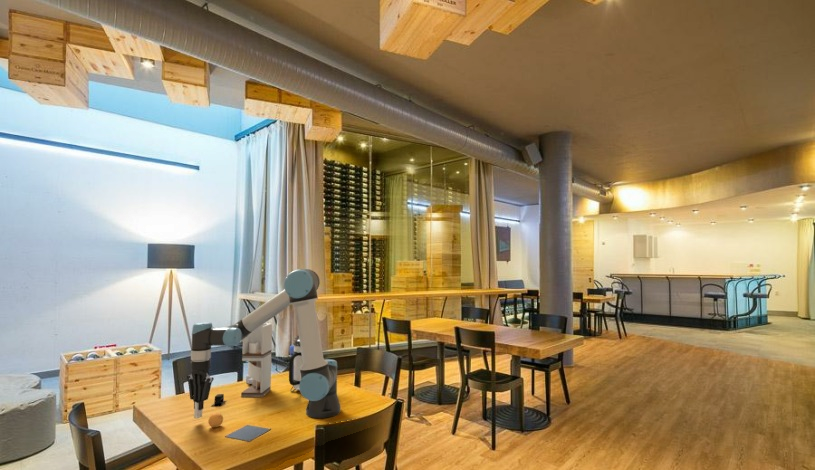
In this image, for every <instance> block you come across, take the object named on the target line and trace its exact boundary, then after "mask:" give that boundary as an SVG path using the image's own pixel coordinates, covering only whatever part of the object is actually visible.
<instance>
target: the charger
mask: <svg viewBox="0 0 815 470" xmlns="http://www.w3.org/2000/svg"><path fill="white" fill-rule="evenodd" d="M245 378H246V379H245V383H246V384H249V385H250V384H251V385H252V384H253V379H252V378H251V377H250V376H249V375H248V374H247V375H246V377H245Z"/></svg>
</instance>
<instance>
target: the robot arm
mask: <svg viewBox="0 0 815 470" xmlns="http://www.w3.org/2000/svg"><path fill="white" fill-rule="evenodd" d="M320 281H321V280H320V277H319V275H318V273H317V272H315V271H314V270H312V269H306V268H305V269H304V268H300V269H299V268H298V269H296V270H295V269H294V270H293V271H291V272H289V273H288V274H287V276H286V277H285V278H284V281H283V287H284V289H282V291H280V292H278V293H277V294H276V295H274V296H273V297H272V298H270V299H267V301H266V302H264V303H263V304H261V305H260V306H258V307H257V308H255V309H254V310H253V311H251V312H250V313H248V314H247V315H245V317H243V318H241V319H240V320H238V321H237V322H236V323H234V324H231V325H228V326H225V327H223V326H222V327H213V323H212V322H210V321H202V322H201V321H200V322H196V323H195V322H194V324H193V325H192V331H191V350H190V360H191V361H190V371H191V373H190V374H189V375H186V381H187V383H188V391H189V399H190V401H191V400H192V401H193V409H194V413H193V418H194V419H197V420H198V419H199V418H202V417H203V410H204V406H205V404H204V403H205V402H204V401H207V400H208V399H209V396H210V391H211V387H212V383H213V381H214V380H215V379H214V377H213V376H210V372H209V370H210V368H211V363H212V362H211V361H212V360H211V358H212V346H217V347H219V346H221V347H222V346H223V347H224V346H225V347H232V346H233V347H234V346H235V347H236V346H238V345H239V344H240V343H241V340H242V341H243V339H244V338H246V337H247V336H248V335H249V334H250V333H251V332H253V331H254V330H256V329H257V328H258V327H260V326H261V325H263V324H264V323H268V321H270V320H272V319H273V318H274V317H276V316H277V315H279V314H280V313H281V312H283V311H284V310H285V309H287V308H289V306H293V307H294V313H295V320H296V326H297V333H298V336H299V341H300V347H301V354H302V360H303V365H302V366H301V368H300V372H301V381H300V386H299V389H300V390H299V392H300V394H301V396H302V397H303V398H304V399H306V400H307V401H308V402H307V406H306V407H305V408H306V410H305V414H306V416H308V417H310V418H313V419H325V418H332V417H334V416H337V415H339V414H340V413H341V412H342V411H341V403H340V400H339V396H338V393H337V392H338V362H337V360H335V359H331V358H330V359H328V358H327V359H326V358H324V354H323V353H324V352H323V345H322V341H321V339H322V338H321V334H320V327H319V321H318V316H317V309H316V302H317V300H318V289H319V287H320V285H321V282H320Z"/></svg>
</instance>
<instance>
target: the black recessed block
mask: <svg viewBox="0 0 815 470" xmlns="http://www.w3.org/2000/svg"><path fill="white" fill-rule="evenodd" d="M224 398H225V395H224V393H218V394H216V395H215V396H214V403H212V404H211V406H210V407H213V408H214V407H223V405H225V404H226V403H227V400H224Z"/></svg>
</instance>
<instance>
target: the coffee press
mask: <svg viewBox="0 0 815 470" xmlns="http://www.w3.org/2000/svg"><path fill="white" fill-rule="evenodd" d="M294 340H295V342H294V341H293V344H292V345H294V354H293V355H292V356H291V358H290V357H289V363H288V380H289V381H288V382H289V384H290V386H292V387H291V388H290V392H291V393H294V391H296V390H297V391H300V389H299V386H300V381H301V372H300V368H301V366H302V365H303V360H302V354H301V347H300V341H299V338H298V339H294Z"/></svg>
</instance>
